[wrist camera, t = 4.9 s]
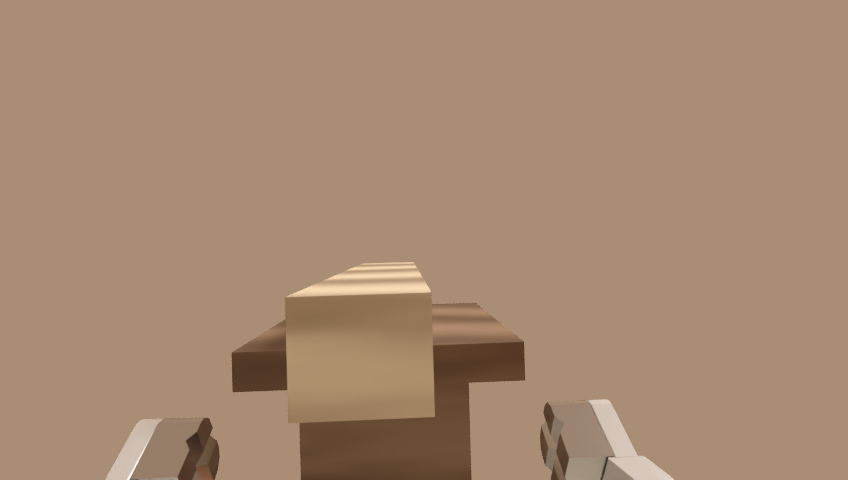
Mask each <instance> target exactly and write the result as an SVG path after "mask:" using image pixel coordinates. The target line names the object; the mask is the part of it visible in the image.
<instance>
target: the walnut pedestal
mask: <svg viewBox="0 0 848 480" xmlns="http://www.w3.org/2000/svg"><path fill="white" fill-rule="evenodd" d="M432 333H433V368H434V402H435V417H423V418H400V419H377V420H354V421H331V422H308V423H300V455H301V456H300V457H301V480H471V454H470V453H471V451H470V418H469V384H468V383H471V382H494V381H520V380H525V365H524V364H525V363H524V342H523V341H522V340H521V339H519V338H518V337H517V336H516V335H515V334H513V333H512V332H511V331H510V330H508V329H507V328H506V327H505V326H503V325H502V324H501V323H500V322H498V321H497V320H496V319H495V318H493V317H492V316H491V315H490V314H488V313H487V312H486V311H485V310H483V309H482V308H481V307H480V306H478V305H477V304H476V303H460V304H432ZM232 382H233V392H247V391H248V392H249V391H273V390H287V356H286V319H285V320H284V321H282V322H280V323H279V324H277V325H276V326H274V327H272V328H271V329H269V330H268V331H266V332H264V333H263V334H261V335H260V336H258V337H256V338H255V339H253V340H252V341H250V342H248V343H247V344H245V345H243V346H242V347H240V348H239V349H237V350H235V351H234V352H232Z"/></svg>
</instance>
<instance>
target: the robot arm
mask: <svg viewBox="0 0 848 480" xmlns="http://www.w3.org/2000/svg"><path fill="white" fill-rule="evenodd" d="M544 416H545V419H546V422H545V423H544V424H543V425H542V426H541V433H540V442H541V451H542V456H543V459H544V463H545V466H546V467H548V468H549V469H550V470H551V471H552V476H551V480H674V479H673V478H672V477H670V476H669V475H668V474H667V473H665V472H664V471H662V470H661V469H660V468H658V467H657V466H656V465H655V464H654V463H652V462H651V461H650V460H648V459H647V458H646V457H644V456H637V454H636V452H635V450H634V448H633V446H632V444H631V442H630V440H629V438H628V436H627V434H626V432H625V430H624V428H623V426H622V424H621V422H620V420H619V418H618V416H617V414H616V412H615V410H614V408H613V406H612V404H611V402H610V401H609V400H607V399H606V400H587V401H586V400H579V401H562V402H547V403H546V405H545V407H544ZM211 431H212V425H211V422H210V420H209V418H168V419H167V418H165V419H142V420H141V421H140V422H138V423H137V425H135V427H134V429H133V431H132V433H131V434H130V436H129V438H128V440H127V441H126V443H125V445H124V447H123V448H122V450H121V452H120V454H119V456H118V458H117V459H116V461H115V462H114V464H113V466H112V468H111V470H110V471H109V473H108V475H107V477H106V479H105V480H214V479H215V476H216V474H217V470H218V463H219V447H218V443H217V440H215V439H214V438H212V437H211V436H210V433H211Z"/></svg>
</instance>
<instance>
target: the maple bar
mask: <svg viewBox="0 0 848 480" xmlns="http://www.w3.org/2000/svg"><path fill="white" fill-rule="evenodd" d="M285 316H286V356H287V394H288V423H308V422H331V421H354V420H377V419H400V418H423V417H435V402H434V368H433V333H432V299H431V291H430V289H429V288H428V286H427V284H426V283H425V281H424V279H423V278H422V276H421V274H420V272H419V271H418V269H417V267H416V266H415V264H414V263H413V262H405V263H371V264H361V265H358V266H357V267H354V268H351V269H349V270H347V271H345V272H342V273H340V274H338V275H336V276H333V277H331V278H328V279H326V280H324V281H321V282H319V283H317V284H315V285H312V286H310V287H308V288H305V289H303V290H301V291H298V292H296V293H294V294H291V295H289V296H287V297H285Z"/></svg>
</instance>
